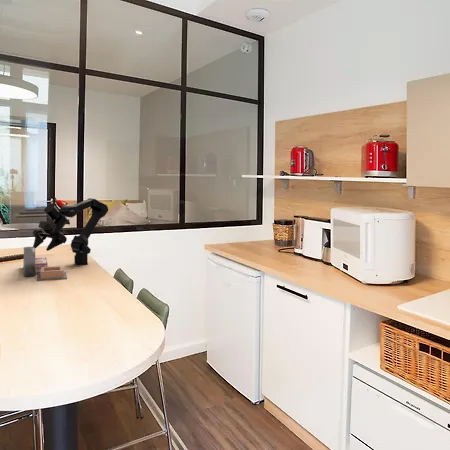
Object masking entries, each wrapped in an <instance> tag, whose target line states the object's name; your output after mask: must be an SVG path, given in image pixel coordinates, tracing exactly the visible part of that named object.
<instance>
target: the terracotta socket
mask: <svg viewBox="0 0 450 450" xmlns="http://www.w3.org/2000/svg"><path fill="white" fill-rule="evenodd" d="M57 279H59V280H68V275H67V271H64V266H63V265H61V266H60V265H59V266H48V267H41V273H37V278H36V281H55V280H57Z"/></svg>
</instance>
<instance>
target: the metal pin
mask: <svg viewBox="0 0 450 450" xmlns="http://www.w3.org/2000/svg"><path fill="white" fill-rule="evenodd" d="M35 258H36V248H35V247H33V246H24V247H23V260H24V273H23V277H24V278H33V277H34V278H35V277H36V274H37V273H36V267H35Z"/></svg>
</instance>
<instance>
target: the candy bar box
mask: <svg viewBox="0 0 450 450" xmlns="http://www.w3.org/2000/svg"><path fill="white" fill-rule="evenodd" d="M48 264H49V263H48V261H47V257H35V267H36V274H39V273H41V267H49V266H48ZM22 267H23V271H22V272H23V273H22V274H24V259H23V265H22Z"/></svg>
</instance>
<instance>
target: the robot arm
mask: <svg viewBox="0 0 450 450" xmlns="http://www.w3.org/2000/svg"><path fill="white" fill-rule="evenodd" d="M89 208H90V209H91V216H90V218H89V219H88V221H87V223H86V224H85V225H84V228H83V229H82V231H81V232H80V234H78V235H74V236H73V238H72V240H71V242H70V247H71V248H70V249H71V252H72V253H73V254H74V255H73V258H74V260H73V261H74V264H75V266H81V265H88V264H89V262H88V255H89V254H91V250H92V249H91V248H90V246H89V238H90V236H91V235H92V233H93V231H94V230H95V228H96V226H97V225H98V223H99V221H100V220H101V219H102V218H104V217H105V216H106V214H108V212H109V206H108V205H107V204H106V203H104V202H101V201H99V200H98V199H96V198H90V197H89V198H87V199H85V200H83V201H80V202H77V203H75V204H70V205H63V206H61V207H60V208H59V206H58V205H57V203H55V202H52V203H51V204H49V205H47V206H46V207H44V210H43V212H44V213H45V214H46V216H47V217H49V219H50V221H44V220H43V221H42V220H41V221H39V224H38V228H40V229H34V230H33V231H31V232H32V233H31V234H32V235H33V236H34V242H33V246H32V247H35V249H36V248H38V247H39V246H40V245H41V244H43V243H44V241H45V240H46V239H48V238H49V239H51V240H50V242H49V244H48V245H47V247H46V249H45V250H46V252H47V251H50V250H53V249H54V248H56V247H58V246H60V245H63V244H66V242H67V240H68V238H67V236H65V235H64V233H63V232H64V231H63V228H64V227H65V226H66V225H70V224H71V222H70V218H74V217H76V216H77V215H78V214H79V212H81V211H84V210H86V209H89ZM68 218H69V219H68ZM51 220H53V221H51ZM41 229H42V230H41Z"/></svg>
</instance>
